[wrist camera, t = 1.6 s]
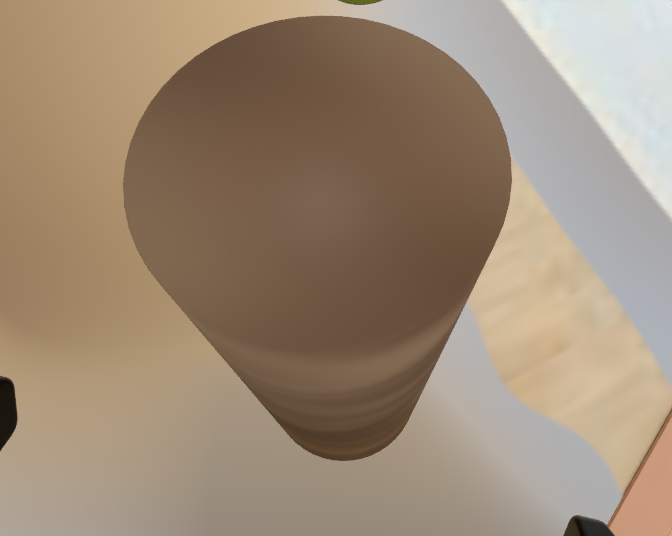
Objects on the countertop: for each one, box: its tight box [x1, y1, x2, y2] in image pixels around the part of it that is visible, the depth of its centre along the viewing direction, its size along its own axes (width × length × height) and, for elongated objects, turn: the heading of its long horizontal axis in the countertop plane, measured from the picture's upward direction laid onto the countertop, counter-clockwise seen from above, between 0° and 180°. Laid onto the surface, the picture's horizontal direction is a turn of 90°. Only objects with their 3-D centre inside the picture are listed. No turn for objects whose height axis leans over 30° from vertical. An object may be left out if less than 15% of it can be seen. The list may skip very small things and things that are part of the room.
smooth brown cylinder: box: [123, 16, 512, 461], centre depth 14 cm, size 5×5×14 cm
